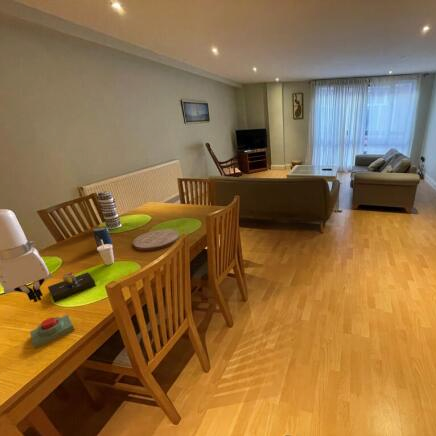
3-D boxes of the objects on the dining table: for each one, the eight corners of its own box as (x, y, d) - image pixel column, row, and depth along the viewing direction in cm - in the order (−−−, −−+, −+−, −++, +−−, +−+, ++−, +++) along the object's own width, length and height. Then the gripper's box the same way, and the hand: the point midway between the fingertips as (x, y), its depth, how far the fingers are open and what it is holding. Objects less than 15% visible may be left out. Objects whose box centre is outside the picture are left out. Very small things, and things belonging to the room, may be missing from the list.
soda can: (113, 243, 145) (107, 225, 140) (112, 247, 140) (106, 229, 135) (98, 246, 141) (92, 227, 137) (98, 251, 136) (91, 232, 132)
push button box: (35, 349, 78) (30, 340, 76) (32, 336, 83) (27, 327, 81) (75, 330, 85) (71, 321, 84) (69, 319, 90) (66, 310, 88)
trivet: (187, 233, 158) (187, 230, 157) (162, 252, 135) (161, 249, 134) (153, 230, 162) (153, 228, 161) (123, 248, 139) (122, 245, 138)
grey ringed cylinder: (123, 226, 168) (113, 192, 158) (107, 230, 161) (96, 195, 152) (120, 222, 173) (110, 189, 164) (104, 226, 167) (93, 192, 158)
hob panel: (54, 302, 98) (51, 296, 96) (50, 292, 104) (47, 286, 102) (96, 285, 108) (94, 280, 106) (90, 277, 114) (88, 271, 112)
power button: (43, 331, 80) (41, 327, 79) (42, 325, 82) (40, 322, 82) (58, 324, 83) (56, 320, 82) (56, 319, 85) (54, 315, 84)
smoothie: (99, 267, 121) (91, 242, 116) (106, 260, 127) (98, 236, 122) (114, 265, 123) (106, 241, 117) (119, 259, 128) (112, 235, 123)
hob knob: (66, 287, 102) (62, 277, 100) (65, 283, 104) (61, 274, 102) (77, 283, 105) (73, 274, 103) (75, 279, 107) (72, 270, 105)
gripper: (44, 238, 79) (65, 283, 86) (-28, 256, 68) (2, 307, 75) (48, 245, 74) (69, 292, 81) (-28, 266, 64) (4, 318, 71)
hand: (37, 299), depth 78 cm, fingers closed
